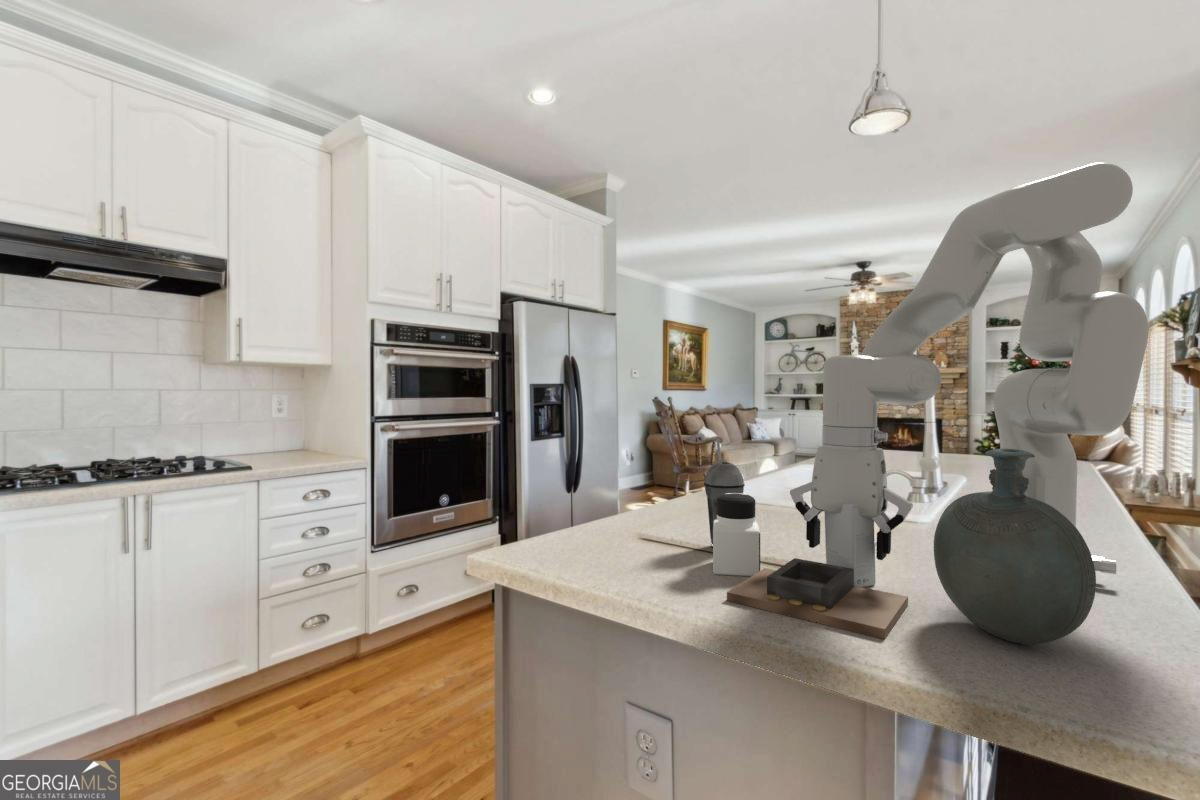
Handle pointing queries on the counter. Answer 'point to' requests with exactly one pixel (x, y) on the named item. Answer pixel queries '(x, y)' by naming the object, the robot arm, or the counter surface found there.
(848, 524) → the skincare box
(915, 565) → the counter surface
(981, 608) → the flask
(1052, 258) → the robot arm
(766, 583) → the board
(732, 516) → the medicine bottle
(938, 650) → the counter surface
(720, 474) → the beverage cup
